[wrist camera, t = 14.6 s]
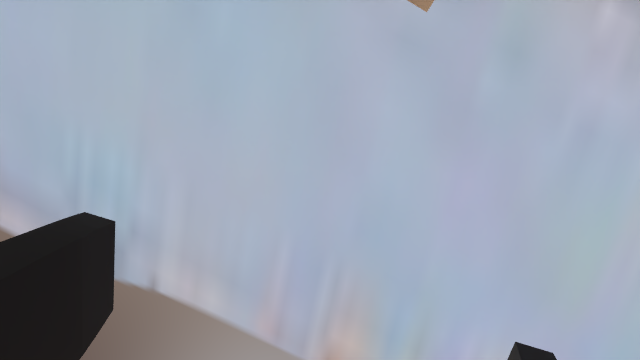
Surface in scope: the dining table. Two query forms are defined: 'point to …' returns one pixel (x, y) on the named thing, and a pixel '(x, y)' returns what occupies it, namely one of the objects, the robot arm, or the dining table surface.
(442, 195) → the dining table surface
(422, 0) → the socket block
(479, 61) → the dining table surface
